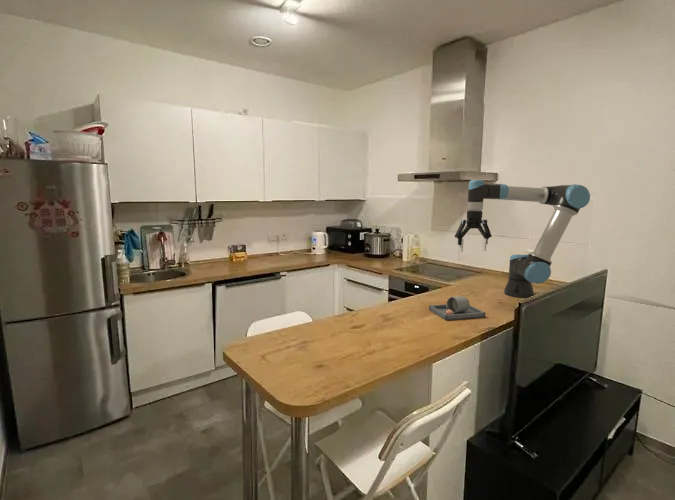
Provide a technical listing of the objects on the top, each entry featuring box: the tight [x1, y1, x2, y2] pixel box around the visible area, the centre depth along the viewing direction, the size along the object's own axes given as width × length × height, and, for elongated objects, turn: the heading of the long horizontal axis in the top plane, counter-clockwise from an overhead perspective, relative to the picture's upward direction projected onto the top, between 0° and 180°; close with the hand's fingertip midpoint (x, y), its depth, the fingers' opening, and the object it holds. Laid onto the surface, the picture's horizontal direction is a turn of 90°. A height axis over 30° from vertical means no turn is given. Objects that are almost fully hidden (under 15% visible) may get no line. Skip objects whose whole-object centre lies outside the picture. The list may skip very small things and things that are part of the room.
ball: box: [446, 310, 453, 315], centre depth 170 cm, size 3×3×3 cm
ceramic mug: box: [446, 295, 470, 313], centre depth 178 cm, size 11×8×8 cm
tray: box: [428, 303, 486, 321], centre depth 177 cm, size 20×16×2 cm
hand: (472, 251), depth 195 cm, fingers open, 13 cm apart
